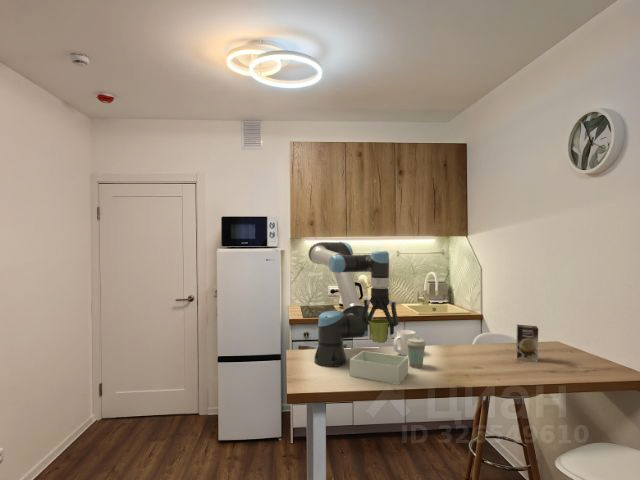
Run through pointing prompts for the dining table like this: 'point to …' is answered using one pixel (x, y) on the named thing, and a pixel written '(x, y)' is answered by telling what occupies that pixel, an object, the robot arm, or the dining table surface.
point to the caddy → (379, 367)
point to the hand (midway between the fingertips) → (379, 340)
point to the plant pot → (379, 330)
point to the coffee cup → (416, 352)
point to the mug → (403, 341)
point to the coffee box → (527, 343)
